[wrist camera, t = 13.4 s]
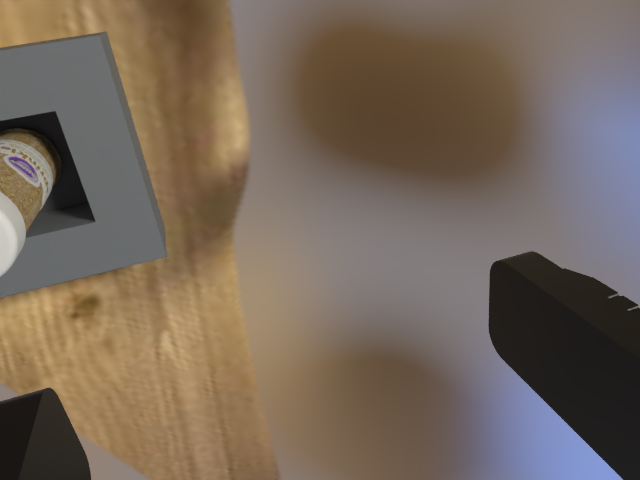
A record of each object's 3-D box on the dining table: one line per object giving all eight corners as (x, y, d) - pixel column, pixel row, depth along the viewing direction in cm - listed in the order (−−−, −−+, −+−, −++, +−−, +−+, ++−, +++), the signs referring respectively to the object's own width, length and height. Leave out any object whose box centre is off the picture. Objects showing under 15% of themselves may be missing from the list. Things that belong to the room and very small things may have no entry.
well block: (-144, 69, 30) (-194, 80, 25) (106, 31, 32) (99, 35, 28) (-37, 276, 36) (-63, 313, 31) (164, 228, 39) (166, 256, 34)
